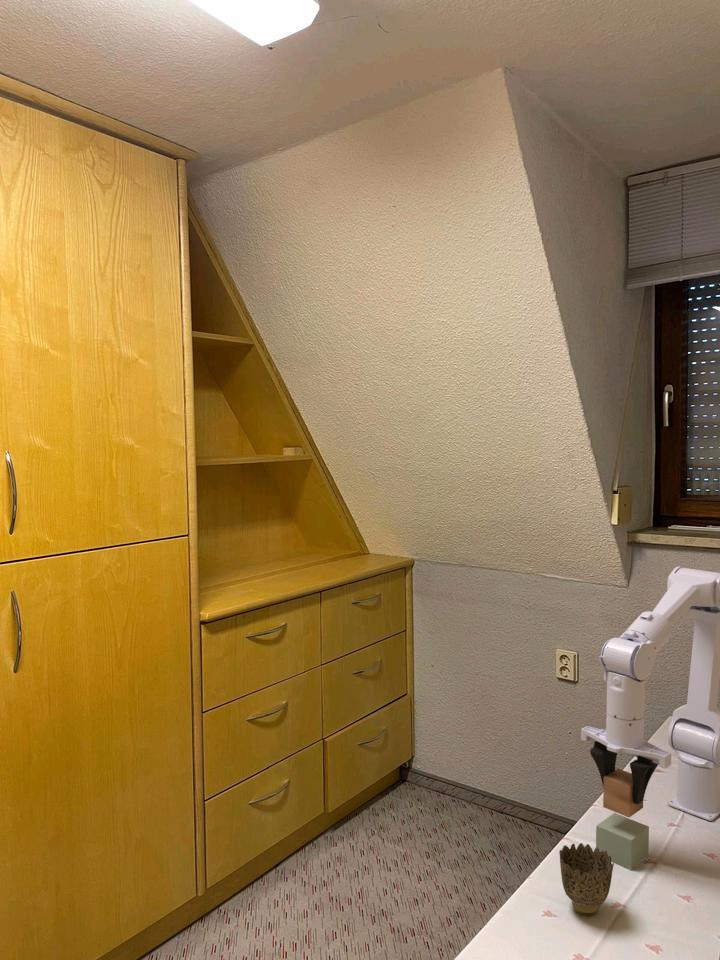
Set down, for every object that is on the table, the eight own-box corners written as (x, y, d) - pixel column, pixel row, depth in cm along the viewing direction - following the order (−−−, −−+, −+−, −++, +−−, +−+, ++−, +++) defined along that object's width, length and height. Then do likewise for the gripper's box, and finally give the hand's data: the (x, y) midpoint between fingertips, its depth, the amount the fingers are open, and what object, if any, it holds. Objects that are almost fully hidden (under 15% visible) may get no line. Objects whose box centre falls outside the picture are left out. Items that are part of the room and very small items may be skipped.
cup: (615, 930, 102) (616, 874, 102) (560, 923, 104) (561, 868, 103) (608, 897, 110) (609, 845, 109) (557, 891, 111) (558, 839, 111)
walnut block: (617, 797, 123) (617, 768, 123) (643, 807, 120) (643, 777, 120) (603, 807, 120) (603, 777, 120) (629, 817, 117) (629, 787, 117)
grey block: (613, 841, 125) (614, 812, 125) (648, 856, 121) (649, 826, 120) (595, 855, 121) (596, 825, 120) (630, 871, 116) (631, 840, 116)
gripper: (571, 707, 122) (570, 787, 123) (657, 734, 111) (654, 821, 112) (594, 697, 127) (592, 774, 127) (678, 721, 116) (676, 806, 117)
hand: (623, 795), depth 120 cm, fingers closed on walnut block, 4 cm apart
